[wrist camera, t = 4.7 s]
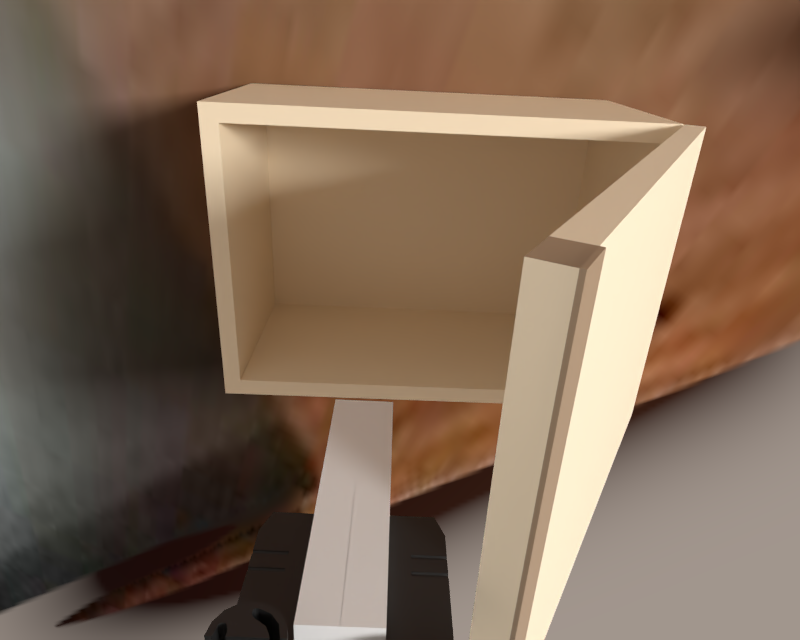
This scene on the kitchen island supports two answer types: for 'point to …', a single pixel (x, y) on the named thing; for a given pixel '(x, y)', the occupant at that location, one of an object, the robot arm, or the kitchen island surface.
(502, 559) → the lid
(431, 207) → the carton
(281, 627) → the robot arm
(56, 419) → the kitchen island surface
